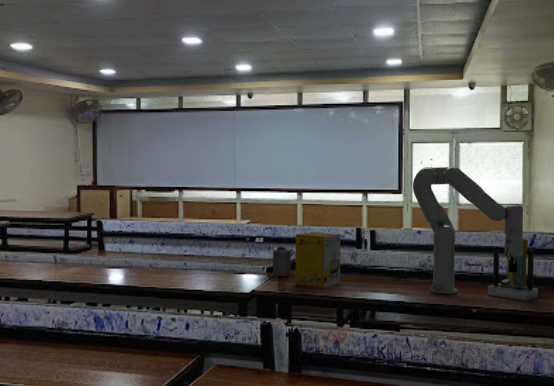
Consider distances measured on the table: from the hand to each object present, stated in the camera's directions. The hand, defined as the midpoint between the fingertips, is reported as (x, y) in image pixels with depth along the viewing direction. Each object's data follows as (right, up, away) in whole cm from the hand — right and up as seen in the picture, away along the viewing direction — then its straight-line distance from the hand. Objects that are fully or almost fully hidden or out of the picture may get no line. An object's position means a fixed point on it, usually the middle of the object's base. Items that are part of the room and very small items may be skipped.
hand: (512, 271), depth 270 cm
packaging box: (-87, -10, +27) cm, 92 cm away
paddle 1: (-2, -6, +2) cm, 7 cm away
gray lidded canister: (-105, -9, +50) cm, 117 cm away
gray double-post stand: (0, -11, 0) cm, 11 cm away
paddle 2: (+2, -6, -2) cm, 7 cm away
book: (+8, -11, +17) cm, 21 cm away
